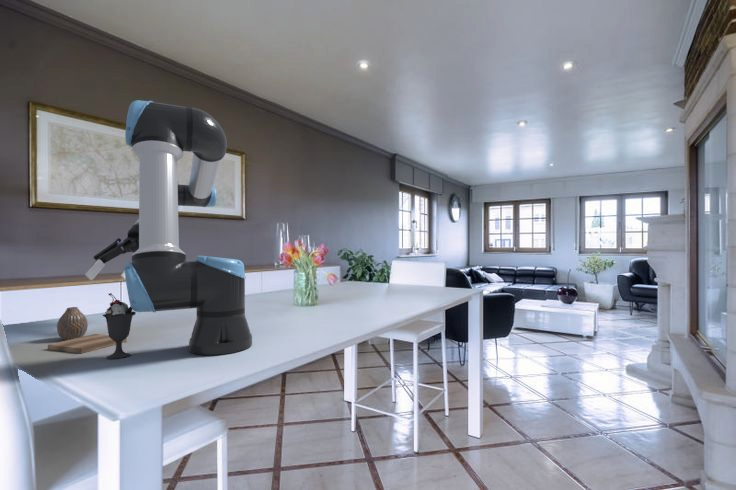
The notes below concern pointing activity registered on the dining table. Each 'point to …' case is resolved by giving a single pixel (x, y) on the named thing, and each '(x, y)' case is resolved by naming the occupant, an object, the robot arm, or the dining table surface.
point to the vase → (72, 324)
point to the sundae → (118, 325)
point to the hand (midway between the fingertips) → (106, 278)
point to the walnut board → (84, 344)
